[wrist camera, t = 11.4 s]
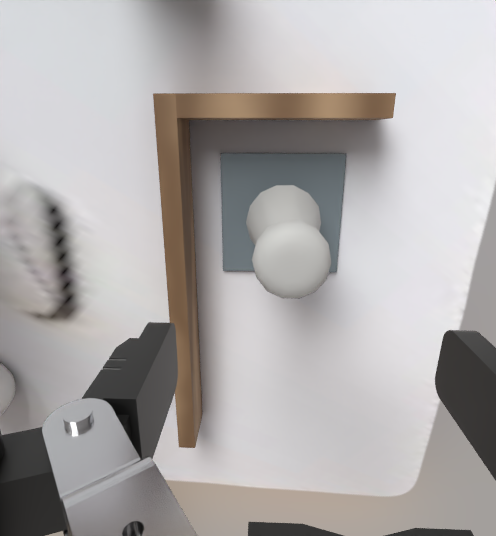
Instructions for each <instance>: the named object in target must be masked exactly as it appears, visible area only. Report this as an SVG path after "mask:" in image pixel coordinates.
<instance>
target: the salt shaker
mask: <svg viewBox="0 0 496 536" xmlns="http://www.w3.org/2000/svg"><path fill="white" fill-rule="evenodd" d="M246 224H247V228H248V233H249V237H250V239H251V240H252V242H253V243H254V244H255V249H254V253H253V257H252V262H253V266H254V270H255V274H256V277H257V279H258V280H259V281H260V283H261V284H262V285H263V286H264V288H265V289H266V290H267V291H268V292H270V293H272V294H275V295H277V296H279V297H281V298H297V299H299V298H302V297H304V296H306V295H309V294H311V293H313V292H315V291H316V290H317V289H318V288H319V287H320V286H321V285H322V284H323V283H324V282H325V281H326V279H327V276H328V272H329V269H330V266H331V257H330V250H329V244H328V243H327V241H326V240H325V239H324V237H323V236H322V235H321V233H320V232H319V230H320V226H321V219H320V212H319V206H318V205H317V204H316V202H315V201H314V200H313V198H312V197H311V196H310V194H309V193H307V192H305V191H303V190H302V189H300V188H298V187H296V186H294V185H276V186H274V187H272V188H269V189H267V190H265V191H263V192H261V193H260V194H259V195H258V196H257V198H256V199H255V200H254V201H253V203H252V204H251V205H250V208H249V212H248V216H247V220H246Z"/></svg>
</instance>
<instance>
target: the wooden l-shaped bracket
mask: <svg viewBox="0 0 496 536" xmlns="http://www.w3.org/2000/svg"><path fill="white" fill-rule="evenodd" d="M395 96H396V93H209V94H153V97H154V111H155V125H156V139H157V152H158V166H159V180H160V193H161V207H162V221H163V234H164V248H165V262H166V276H167V289H168V303H169V317H170V323H174V325H175V329H176V344H177V361H178V379H177V386H176V390H175V399H176V413H177V426H178V440H179V447H187V448H195V446H196V441H197V437H198V432H199V428H200V423H201V418H202V394H201V372H200V350H199V328H198V306H197V284H196V262H195V240H194V219H193V197H192V175H191V153H190V131H189V120H380V119H388V118H393V112H394V104H395Z"/></svg>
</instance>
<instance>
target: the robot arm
mask: <svg viewBox="0 0 496 536" xmlns="http://www.w3.org/2000/svg"><path fill="white" fill-rule="evenodd" d="M177 379H178V361H177V344H176V329H175V325H174V323H152V322H149V323H148V324H147V326H146V327H145V329H144V331H143V332H142V334H141V336H140V337H139V338H129V339H128V340H127V341H125V342H124V343H122V344H121V345H119V346H118V347H116V349H115V350H114V352H113V353H112V355H111V356H110V358H109V360H108V361H107V362H106V364H105V365H104V366H103V370H101V371H100V372H99V374H98V375H97V377H96V378H95V380H94V381H93V383H92V384H91V386H90V387H89V389H88V390H87V391H86V393H85V394H84V396H83V397H82V399H80V400H76V401H72V402H70V403H67V404H65V405H63V406H61V407H59V408H58V409H56V410H55V411H54V412H52V413H51V414H50V415H49V416H48V417H47V419H46V420H45V422H44V424H43V427H40V428H36V429H32V430H27V431H21V432H16V433H11V434H6V435H1V431H0V536H45V535H49V534H52V533H56V532H60V531H63V534H64V536H197V534H196V532H195V531H194V529H193V527H192V525H191V524H190V522H189V520H188V519H187V517H186V515H185V514H184V512H183V510H182V508H181V507H180V505H179V503H178V502H177V500H176V498H175V496H174V495H173V493H172V491H171V490H170V488H169V486H168V485H167V483H166V481H165V479H164V478H163V476H162V474H161V473H160V471H159V469H158V468H157V466H156V464H155V463H154V461H153V460H152V458H153V455H154V453H155V450H156V447H157V444H158V441H159V438H160V435H161V432H162V429H163V426H164V423H165V420H166V417H167V414H168V411H169V408H170V405H171V402H172V399H173V396H174V393H175V390H176V386H177ZM435 385H436V390H437V394H438V396H439V398H440V399H441V401H442V402H443V404H444V405H445V407H446V408H447V410H448V411H449V413H450V414H451V416H452V417H453V419H454V420H455V421H456V423H457V424H458V426H459V427H460V429H461V430H462V432H463V433H464V435H465V436H466V438H467V439H468V441H469V442H470V443H471V445H472V446H473V448H474V449H475V451H476V452H477V454H478V455H479V457H480V458H481V459H482V461H483V463H484V464H485V465H486V467H487V468H488V470H489V471H490V473H491V474H492V476H493V477H494V479H495V480H496V348H495V347H494V346H493V345H492V344H491V343H490V342H489V341H487V340H486V339H485V338H484V337H483V336H482V335H481V334H480V333H478V332H477V331H459V330H449V331H447V332H446V333H445V334H444V337H443V341H442V346H441V351H440V356H439V361H438V366H437V371H436V376H435ZM248 525H249V526H248V536H343V535H339V534H336V533H333V532H329V531H326V530H322V529H318V528H315V527H312V526H308V525H305V524H292V523H264V522H249V524H248ZM386 536H474V535H473V534H472V532H471V530H451V529H425V528H424V529H423V528H414V529H410V530H406V531H402V532H398V533H394V534H390V535H386Z"/></svg>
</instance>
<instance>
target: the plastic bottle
mask: <svg viewBox="0 0 496 536" xmlns="http://www.w3.org/2000/svg"><path fill="white" fill-rule="evenodd" d="M14 395H15V380H14V377H13V375H12V373H11V372H10V371H9V370H8V369H7V368H6V367H5V366H4V365H2V364H1V363H0V415H2V414H3V413H4V412H5V411H6V409H7V408H8V406H9V405H10V403H11V401H12V400H13V398H14Z"/></svg>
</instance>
